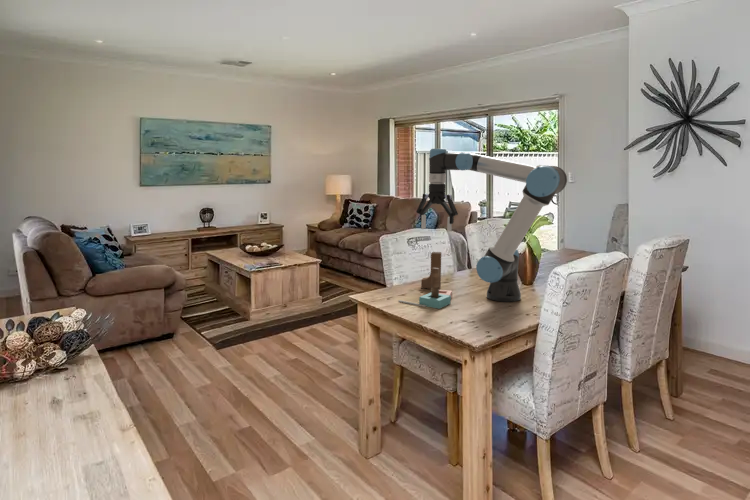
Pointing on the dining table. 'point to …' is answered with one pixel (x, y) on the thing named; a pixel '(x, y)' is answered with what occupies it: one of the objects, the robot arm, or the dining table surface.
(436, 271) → the brown square post
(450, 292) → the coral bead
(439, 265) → the wooden block
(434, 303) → the teal bead
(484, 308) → the dining table surface
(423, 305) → the grey cord
